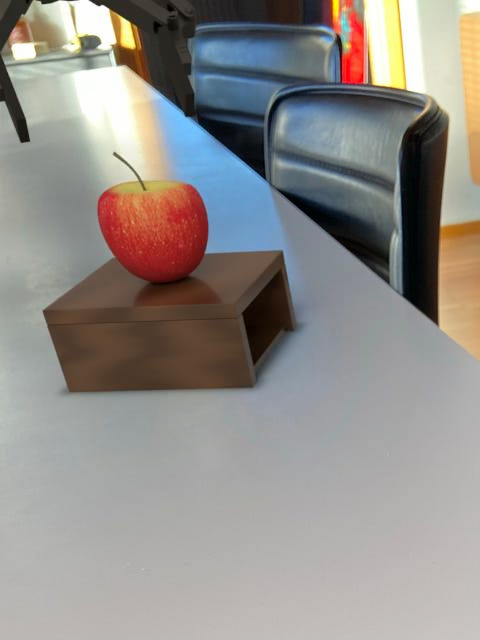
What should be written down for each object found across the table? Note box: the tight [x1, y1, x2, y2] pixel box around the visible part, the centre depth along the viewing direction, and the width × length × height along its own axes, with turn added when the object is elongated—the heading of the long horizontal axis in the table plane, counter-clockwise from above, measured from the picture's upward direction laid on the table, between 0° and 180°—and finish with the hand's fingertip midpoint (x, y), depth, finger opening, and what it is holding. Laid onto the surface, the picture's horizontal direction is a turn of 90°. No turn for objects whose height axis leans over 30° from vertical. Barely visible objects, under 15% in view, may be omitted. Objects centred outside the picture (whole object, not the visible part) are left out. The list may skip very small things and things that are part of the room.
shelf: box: [42, 249, 298, 393], centre depth 87 cm, size 16×14×7 cm
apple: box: [96, 151, 210, 283], centre depth 82 cm, size 8×8×10 cm
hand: (109, 118), depth 83 cm, fingers open, 13 cm apart
